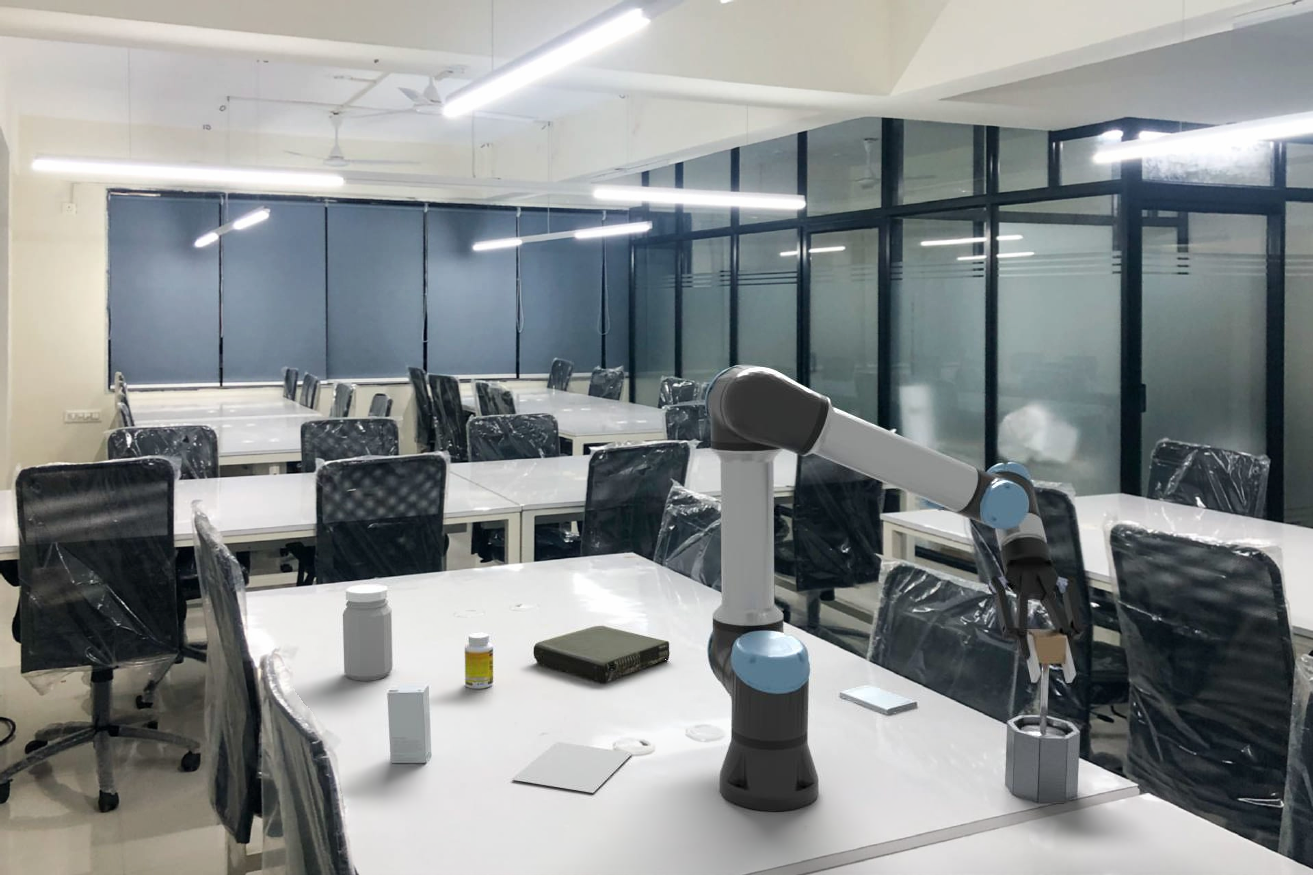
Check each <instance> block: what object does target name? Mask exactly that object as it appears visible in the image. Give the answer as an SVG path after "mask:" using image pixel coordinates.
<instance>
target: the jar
mask: <svg viewBox="0 0 1313 875" xmlns="http://www.w3.org/2000/svg"><path fill="white" fill-rule="evenodd" d="M388 591H389V589H388V586H386V585H383V584H377V583H364V584H363V583H362V584H357V585H353V586H350V587H347V588H346V590H345V600H346V602H345V603H346V604H345V606H346V608H345V609H344V610H343V613H342V635H343V636H342V637H343V638H342V640H343V670H344V671H343V673H344V674H345V675H346V676H347V677H348V678H349V679H351V680H354V681H374V680H380V679H383V678H384V677H387V676H389V674H390V673H391V672H392V670H393V666H394V664H393V660H394V659H393V626H392V625H393V624H392V623H393V616H392V614H393V613H392V608H391V607H390V606H389V605H388V603H389V600H388V599H387V598H388V596H389V595H388Z"/></svg>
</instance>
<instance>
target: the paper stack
mask: <svg viewBox="0 0 1313 875" xmlns="http://www.w3.org/2000/svg"><path fill="white" fill-rule="evenodd" d="M545 735H550V732H548V733H547V732H542V733H541V734H540V735H537V736H538V737H542V736H545ZM633 754H634V753H633V752H628V751H624V750H623V751H622V750H615V749H610V748H609V749H608V748H602V747H594V746H589V745H581V744H575V743H568V742H561V741H556V742H555V743H553V744H552V745H551V746H550V747H549V748H548V749H547V750H545V751H544V752H543V753H542V754H540V755H539V756H538V757H536V758H535V759H534V760H533V761H532V762H530V764H528V765H527V766H526V767H525V768H523V769H522V770H521V771H520V772H518V773H517V774H516V775H515V776H514V777H513V778H511V781H512V780H513V781H518V782H525V783H531V784H536V785H542V786H548V787H555V788H560V789H561V788H562V789H566V790H574V791H578V792H586V793H592V794H594V793H595V792H596V791H597V790H598V789H599V788H600V787H601V786H602V785H603V784H604V783H605V782H606V781H607V780H608V779H609V778H610V777H611V776H612V774H614V773H615V772H616V771H617V770H618V769H619V768H620V767H621V765H623V764H624V763H625V762H626V761H627V760H628V759H629V758H630V756H632V755H633Z"/></svg>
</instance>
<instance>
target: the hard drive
mask: <svg viewBox="0 0 1313 875" xmlns="http://www.w3.org/2000/svg"><path fill="white" fill-rule="evenodd" d="M840 696H841V697H840ZM839 697H840V698H842V697H844V698H843V699H845V698H846V700H847V699H849V700H848V701H850V700H851V701H850V702H852V701H855V702H857V703H856V704H858V705H860V704H861V705H860V706H863V707H865V706H866V708H868V709H870V708H871V709H870V710H872V711H875V710H876V712H878V713H881V712H882V713H881V714H883V715H886V714H889V715H893V714H895V713H894V712H896V713H898V712H902V711H901V710H903V711H906V709H907V710H909V709H908V708H910V709H913V707H914V708H917V707H918V702H917V701H914V700H911V699H910V698H906V697H903V696H902V695H898V694H895V693H894V692H890V691H888V690H885V689H882V688H879V687H876V686H874V685H870V684H865V685H860V686H857V687H853V688H849V689H846V690H841V691H840V692H839ZM855 702H854V703H855ZM916 706H917V707H916Z"/></svg>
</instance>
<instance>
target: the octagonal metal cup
mask: <svg viewBox="0 0 1313 875" xmlns="http://www.w3.org/2000/svg"><path fill="white" fill-rule="evenodd" d="M1029 725H1040V714H1039V715H1038V714H1035V715H1033V714H1031V715H1030V714H1021V715H1018V716H1016V717H1013V718H1011V719H1009V720H1007V721H1006V744H1005V745H1006V746H1005V747H1006V748H1005V749H1006V750H1005V771H1004V772H1005V774H1004V776H1005V777H1004V784H1005V786H1006V788H1008V790H1009V792H1010V793H1011V794H1012V795H1013V796H1016V797H1019V798H1022V799H1024V800H1027V801H1031V802H1034V803H1038V804H1066V803H1068V802H1070V801H1072V800H1073V799H1075V798H1076V797H1077V796H1078V794H1079V793H1078V788H1079V787H1078V786H1079V766H1080V765H1079V764H1080V745H1081V744H1080V741H1081V731H1080V730H1079V729H1078V728H1077V727H1076V726H1075V725H1074V724H1073V723H1072V722H1071V721H1067V720H1064V719H1062V718H1061V719H1060V718H1057V717H1053V716H1051V715H1047V726H1049V727H1053V728H1056V729H1059V730H1061V731H1063V732H1064V733H1065V734H1066V735H1065V736H1064V737H1062V736H1038V735H1035V734H1031V733H1028V732H1024V731H1021V730H1020V729H1021V728H1022V727H1024V726H1029Z"/></svg>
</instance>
